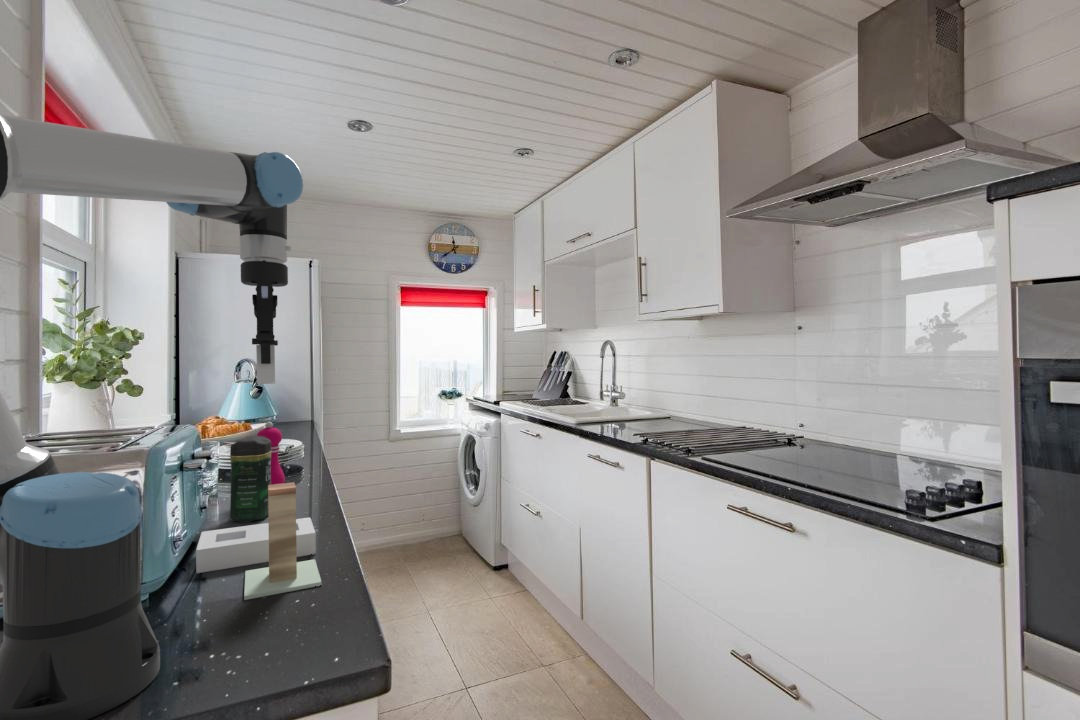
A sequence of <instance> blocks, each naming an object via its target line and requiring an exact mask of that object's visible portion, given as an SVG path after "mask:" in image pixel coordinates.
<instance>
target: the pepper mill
mask: <svg viewBox="0 0 1080 720" xmlns="http://www.w3.org/2000/svg"><path fill="white" fill-rule="evenodd" d="M256 436H265V437H266V438H268V439H269V440H270V441H271V485H274V484H283V483H285V481H286V478H285V473H284V470H283V468H282V467H281V465H280V460H279V452H280V451H281V445H279V444H280V443H281V442H282V440H283V435H282V432H281V430H279V429H278V428H276V427H274V424H273V422H272V421H267V422H266V423H265V426H264V428H262V429H260V430H259V431H258V432H257V434H256Z"/></svg>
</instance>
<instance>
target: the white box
mask: <svg viewBox="0 0 1080 720" xmlns="http://www.w3.org/2000/svg"><path fill="white" fill-rule="evenodd" d="M312 521H313V520H312V519H311V517H303V518H296V556H297V558H299V557H305V556H306V557H307V556H310V555H311V554H312V555H316V554H317V553H316V552H317V550H316V548H317V545H316V539H317V537H316V530H315V527H314V524H313V522H312ZM195 557H196V559H195V565H196V568H195V570H196V574H200V573H201V574H202V573H206V572H214V571H220V570H226V569H232V568H236V567H237V568H238V567H244V566H250V565H256V564H262V563H269V522H265V523H257V524H251V525H244V526H243V525H242V526H236V527H235V526H234V527H228V528H227V527H226V528H220V529H213V530H204V531H201V533H200V537H199V539H198V543H197V546H196V550H195Z"/></svg>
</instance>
